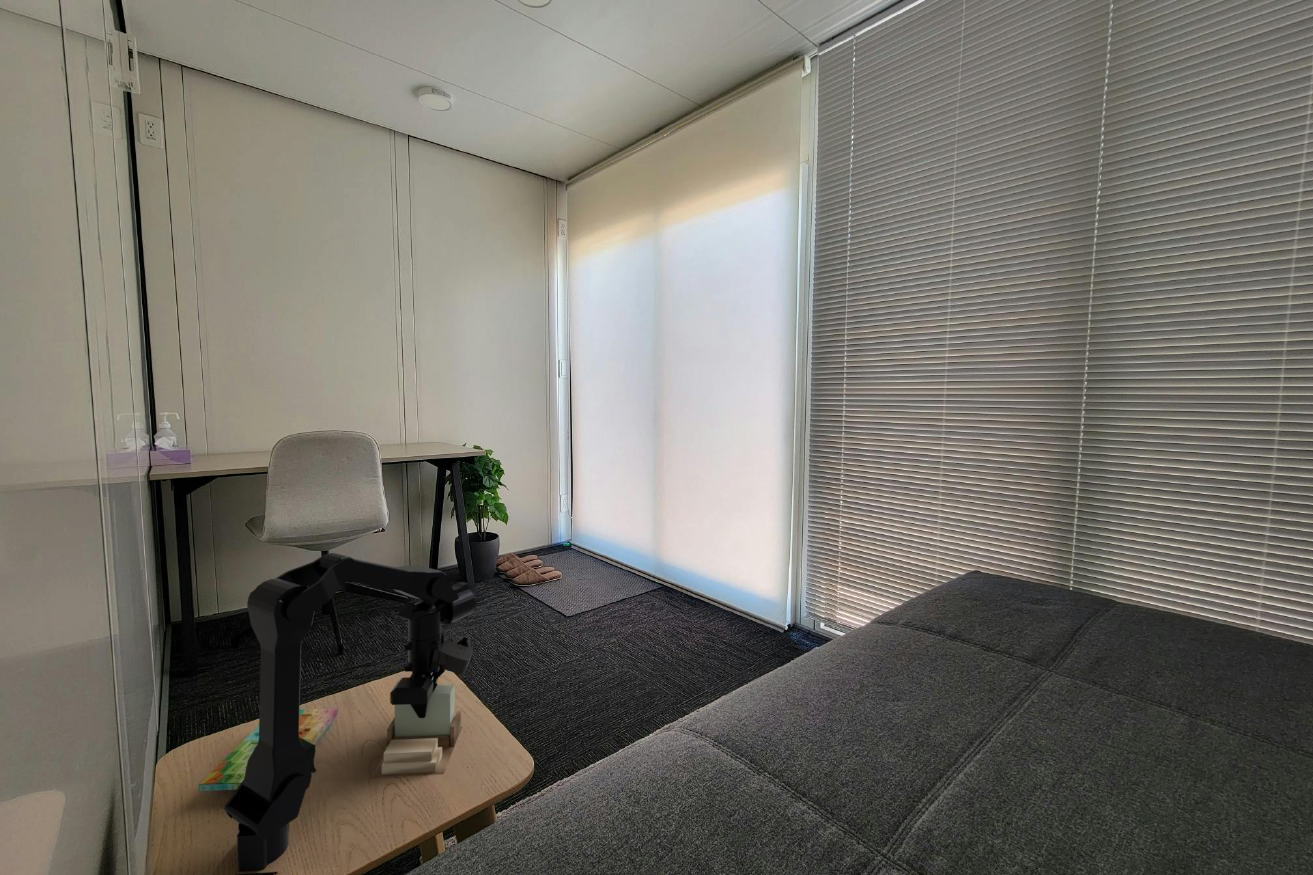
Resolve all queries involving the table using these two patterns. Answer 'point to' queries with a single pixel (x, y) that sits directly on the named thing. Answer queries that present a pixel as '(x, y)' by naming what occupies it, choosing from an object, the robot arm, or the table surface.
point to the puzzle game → (235, 763)
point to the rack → (443, 740)
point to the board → (427, 715)
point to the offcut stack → (412, 756)
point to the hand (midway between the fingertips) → (425, 712)
